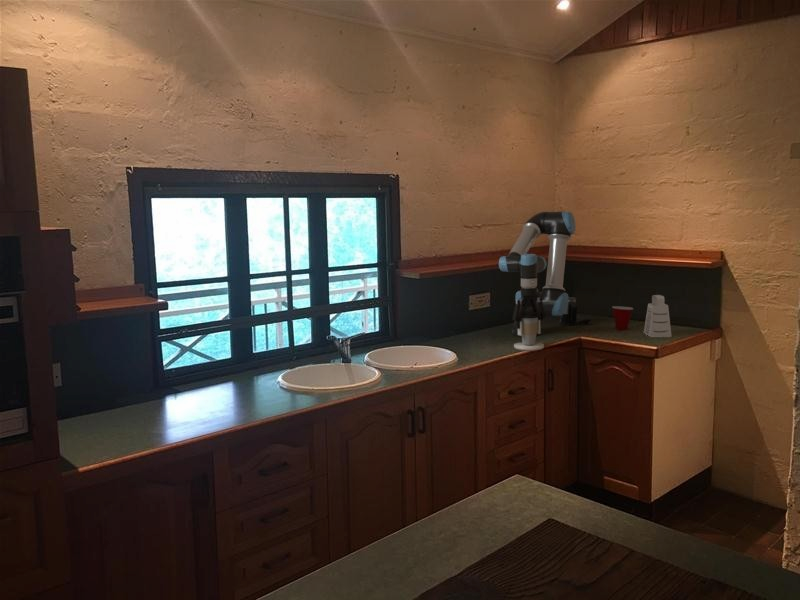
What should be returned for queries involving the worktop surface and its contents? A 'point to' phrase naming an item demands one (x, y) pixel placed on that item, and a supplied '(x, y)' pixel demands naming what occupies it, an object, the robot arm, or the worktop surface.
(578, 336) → the worktop surface
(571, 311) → the milk frother
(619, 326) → the plastic cup
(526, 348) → the saucer
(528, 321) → the coffee cup
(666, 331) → the grater
